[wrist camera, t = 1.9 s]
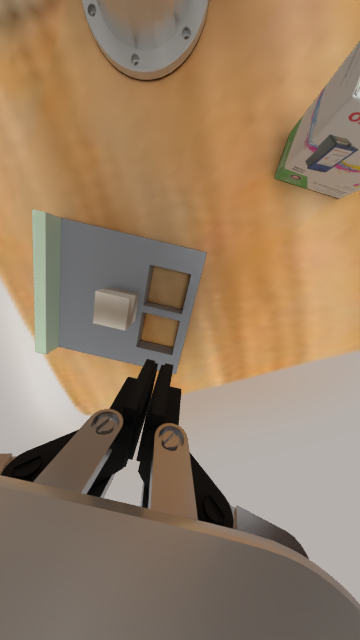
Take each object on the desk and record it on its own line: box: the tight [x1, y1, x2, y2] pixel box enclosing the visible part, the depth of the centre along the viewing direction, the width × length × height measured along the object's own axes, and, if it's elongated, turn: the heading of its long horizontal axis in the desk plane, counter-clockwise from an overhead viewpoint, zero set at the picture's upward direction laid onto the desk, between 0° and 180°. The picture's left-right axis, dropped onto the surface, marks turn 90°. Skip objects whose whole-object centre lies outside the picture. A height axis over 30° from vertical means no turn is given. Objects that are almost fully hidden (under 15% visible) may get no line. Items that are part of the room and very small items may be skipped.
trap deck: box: [32, 209, 207, 374], centre depth 25 cm, size 18×21×5 cm
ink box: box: [275, 41, 360, 199], centre depth 16 cm, size 9×5×12 cm, turn 74°
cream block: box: [93, 287, 139, 331], centre depth 23 cm, size 4×4×4 cm
